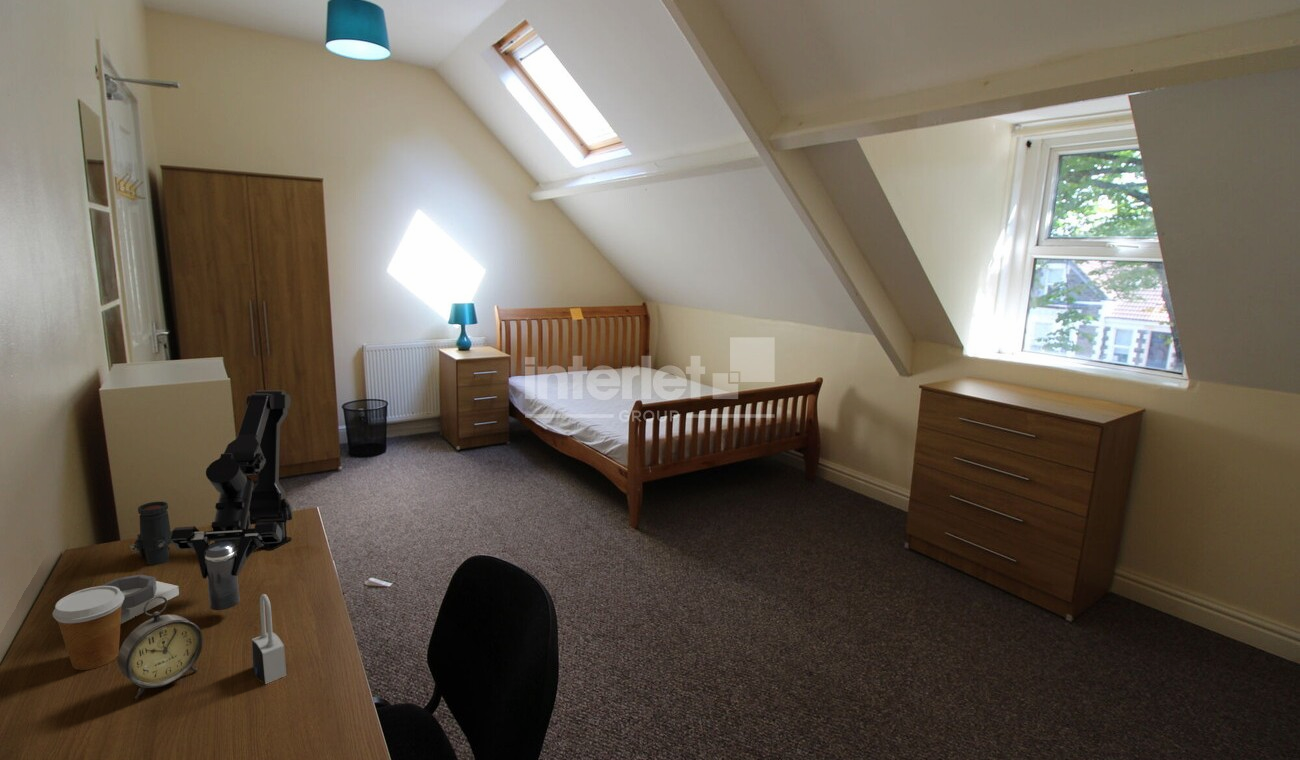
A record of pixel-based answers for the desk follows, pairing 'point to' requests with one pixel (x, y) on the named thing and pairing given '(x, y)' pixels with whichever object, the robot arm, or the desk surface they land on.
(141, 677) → the alarm clock
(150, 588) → the octagonal ring on plate
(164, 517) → the scope
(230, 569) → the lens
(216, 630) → the desk surface
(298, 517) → the desk surface
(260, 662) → the padlock
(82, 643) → the disposable coffee cup
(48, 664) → the desk surface
